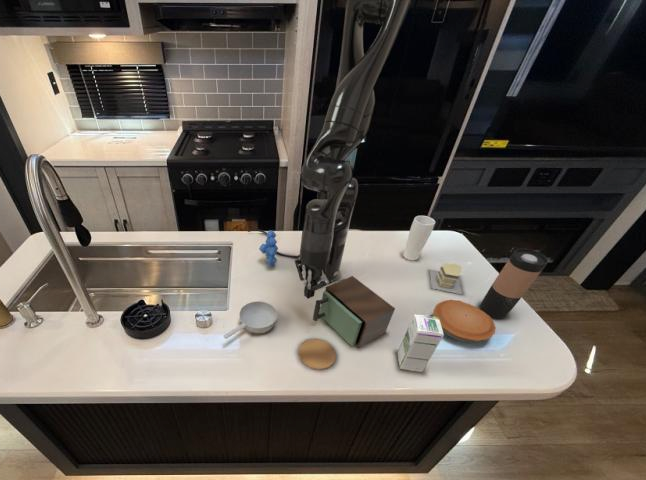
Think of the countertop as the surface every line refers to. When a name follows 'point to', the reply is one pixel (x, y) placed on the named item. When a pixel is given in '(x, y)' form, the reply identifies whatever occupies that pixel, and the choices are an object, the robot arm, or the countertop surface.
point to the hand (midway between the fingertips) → (308, 296)
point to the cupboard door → (337, 317)
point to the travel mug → (513, 282)
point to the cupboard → (363, 308)
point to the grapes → (270, 248)
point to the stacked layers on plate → (447, 278)
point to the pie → (464, 321)
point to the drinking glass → (418, 236)
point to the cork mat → (317, 354)
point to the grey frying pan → (256, 318)
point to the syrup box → (419, 342)
